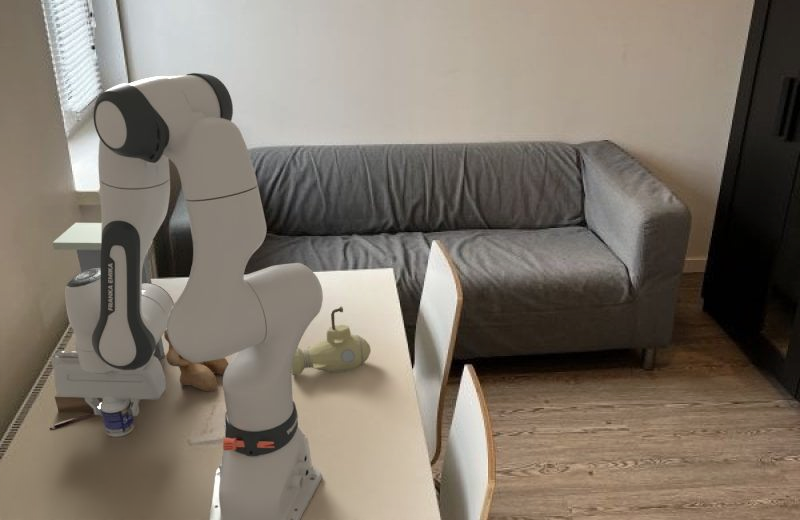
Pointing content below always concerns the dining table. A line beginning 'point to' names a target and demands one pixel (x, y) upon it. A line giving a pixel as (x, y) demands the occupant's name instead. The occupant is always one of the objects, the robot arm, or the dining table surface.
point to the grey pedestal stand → (94, 254)
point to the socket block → (74, 404)
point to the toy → (333, 351)
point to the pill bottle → (116, 416)
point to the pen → (71, 421)
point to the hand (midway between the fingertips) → (117, 413)
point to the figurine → (196, 369)
